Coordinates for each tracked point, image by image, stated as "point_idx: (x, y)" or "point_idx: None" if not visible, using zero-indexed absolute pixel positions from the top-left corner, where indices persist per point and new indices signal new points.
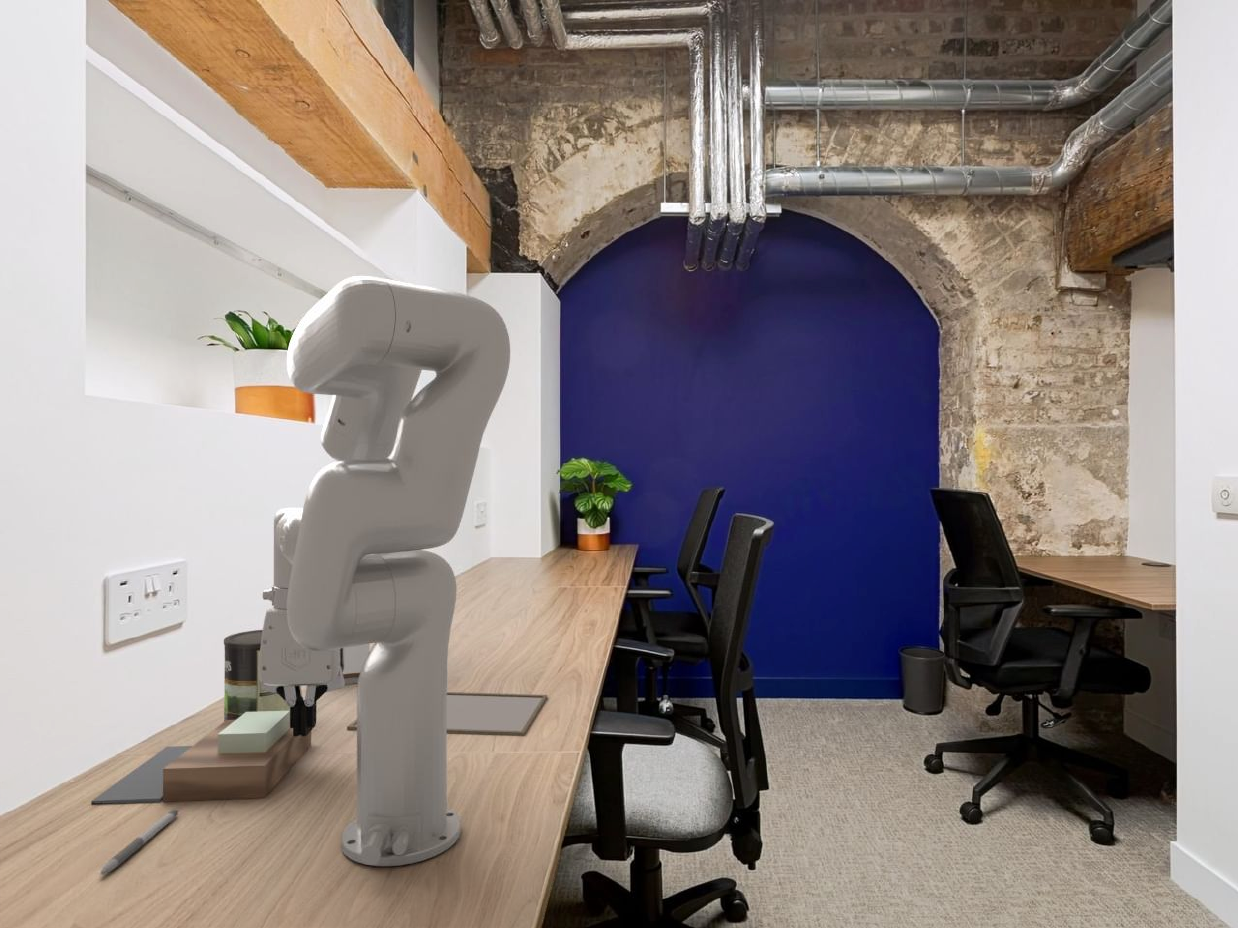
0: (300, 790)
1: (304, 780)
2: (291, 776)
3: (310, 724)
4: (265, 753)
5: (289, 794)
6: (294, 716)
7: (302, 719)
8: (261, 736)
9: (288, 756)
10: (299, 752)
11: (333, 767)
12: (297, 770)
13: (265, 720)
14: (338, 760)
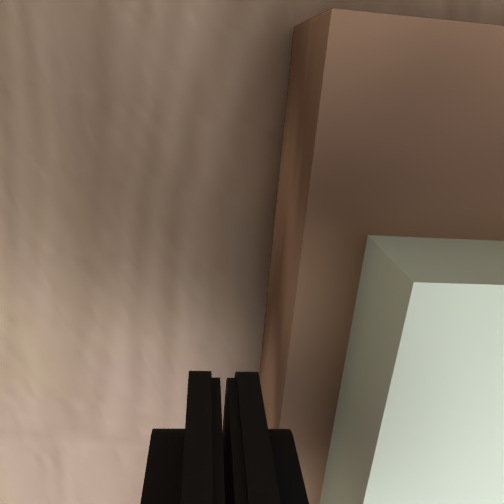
0: (156, 89)
1: (173, 199)
2: (239, 247)
3: (164, 437)
4: (366, 214)
5: (193, 50)
6: (263, 458)
7: (204, 440)
8: (431, 270)
9: (274, 332)
10: None
11: (94, 315)
12: (232, 302)
13: (448, 485)
14: (98, 377)
